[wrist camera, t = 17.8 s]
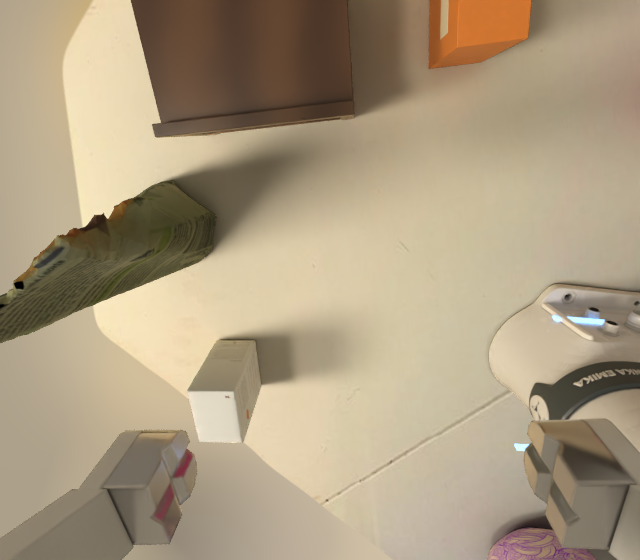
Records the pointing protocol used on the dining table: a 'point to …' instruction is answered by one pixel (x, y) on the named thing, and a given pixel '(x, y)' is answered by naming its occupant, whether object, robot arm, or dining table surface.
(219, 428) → the small box
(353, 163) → the dining table surface
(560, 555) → the bowl of food
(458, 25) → the block
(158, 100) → the shelf
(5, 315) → the pouch
